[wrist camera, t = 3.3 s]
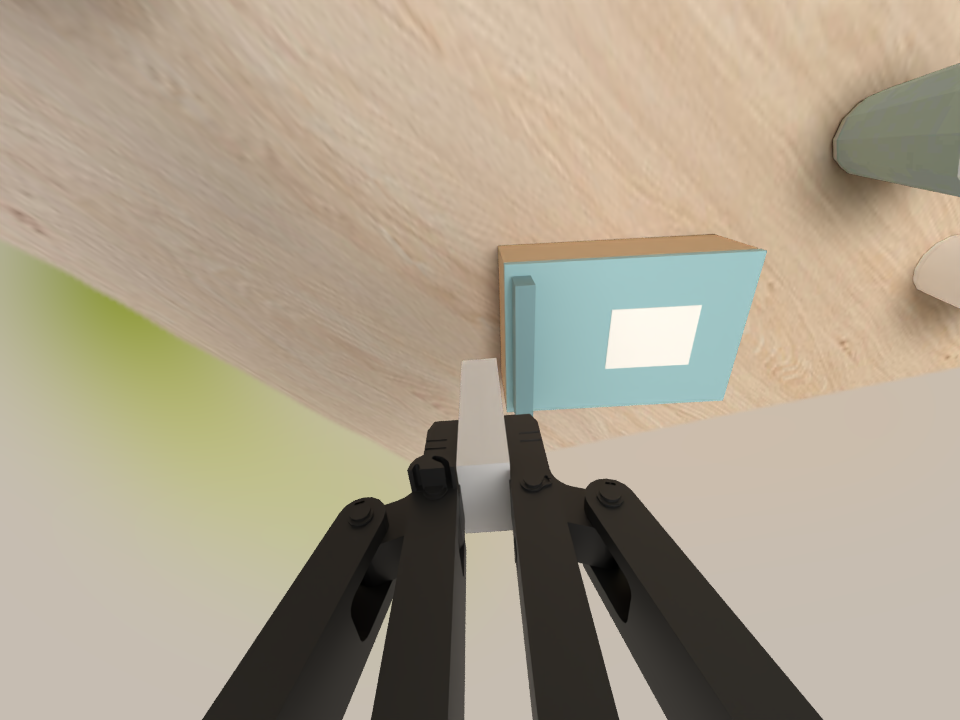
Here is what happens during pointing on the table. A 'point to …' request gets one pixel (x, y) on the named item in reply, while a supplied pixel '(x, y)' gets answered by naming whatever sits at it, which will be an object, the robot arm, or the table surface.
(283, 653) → the robot arm
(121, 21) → the table surface
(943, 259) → the foam cup
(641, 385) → the lid
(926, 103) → the disposable coffee cup
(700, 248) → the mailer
